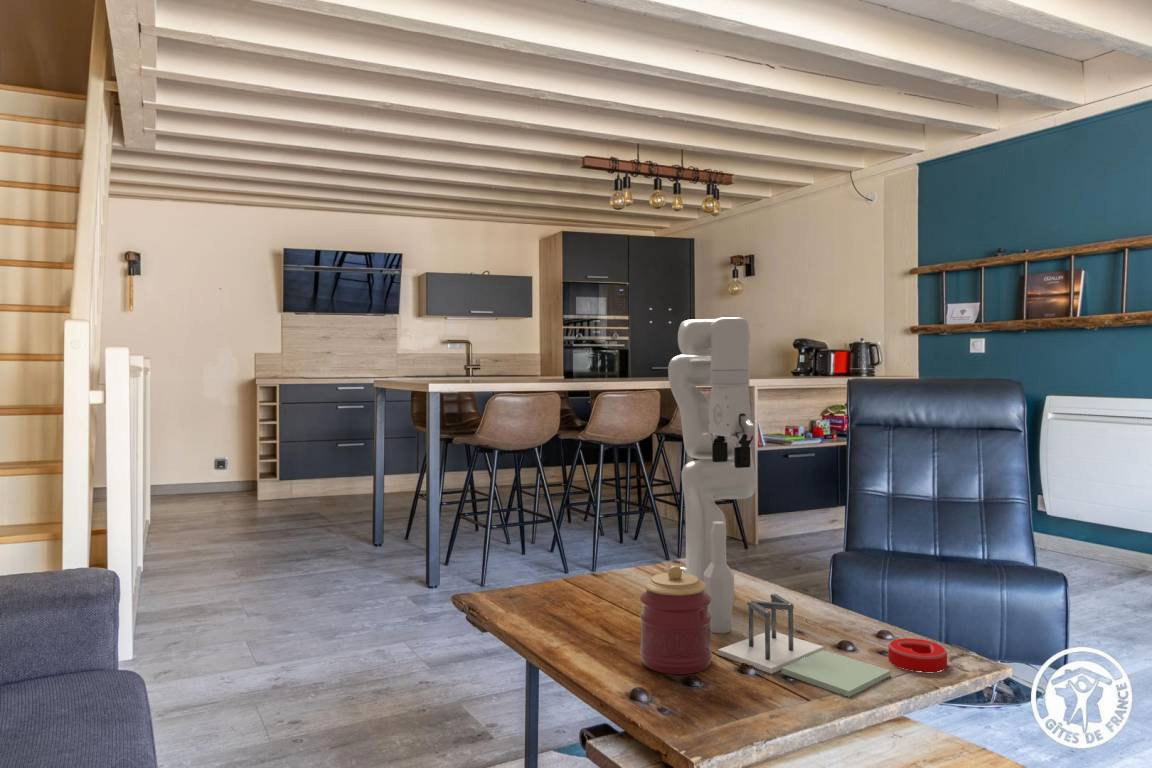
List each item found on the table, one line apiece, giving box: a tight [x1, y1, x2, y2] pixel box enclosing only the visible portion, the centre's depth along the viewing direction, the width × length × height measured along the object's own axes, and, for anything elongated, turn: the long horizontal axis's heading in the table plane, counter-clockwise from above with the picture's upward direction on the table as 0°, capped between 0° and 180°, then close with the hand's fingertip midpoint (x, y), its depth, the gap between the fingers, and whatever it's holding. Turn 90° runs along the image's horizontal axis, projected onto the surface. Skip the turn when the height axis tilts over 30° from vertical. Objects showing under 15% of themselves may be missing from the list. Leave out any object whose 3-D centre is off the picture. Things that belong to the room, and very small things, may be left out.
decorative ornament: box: [887, 637, 948, 672], centre depth 138 cm, size 10×10×3 cm
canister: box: [639, 565, 713, 675], centre depth 140 cm, size 13×13×18 cm
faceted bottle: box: [703, 521, 735, 634], centre depth 157 cm, size 6×6×22 cm
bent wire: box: [747, 593, 795, 660], centre depth 143 cm, size 7×11×9 cm, turn 129°
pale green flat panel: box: [780, 650, 891, 698], centre depth 133 cm, size 13×13×1 cm
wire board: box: [717, 629, 825, 675], centre depth 143 cm, size 12×16×1 cm
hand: (730, 464), depth 154 cm, fingers open, 9 cm apart
